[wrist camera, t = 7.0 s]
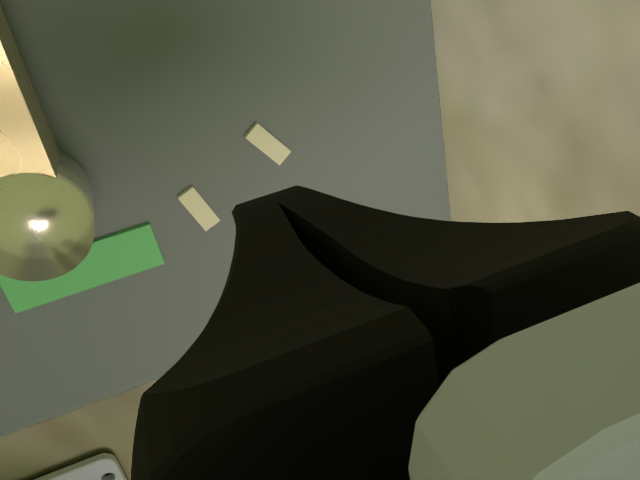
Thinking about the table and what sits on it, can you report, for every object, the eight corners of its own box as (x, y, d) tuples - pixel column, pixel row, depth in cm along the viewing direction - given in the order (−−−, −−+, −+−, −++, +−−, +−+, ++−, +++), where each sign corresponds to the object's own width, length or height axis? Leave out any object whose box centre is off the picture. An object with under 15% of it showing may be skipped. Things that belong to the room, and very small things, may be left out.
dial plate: (443, 257, 26) (457, 270, 25) (-250, 511, 20) (-267, 540, 19) (375, -396, 16) (395, -418, 15) (-1003, -225, 10) (-1119, -243, 9)
